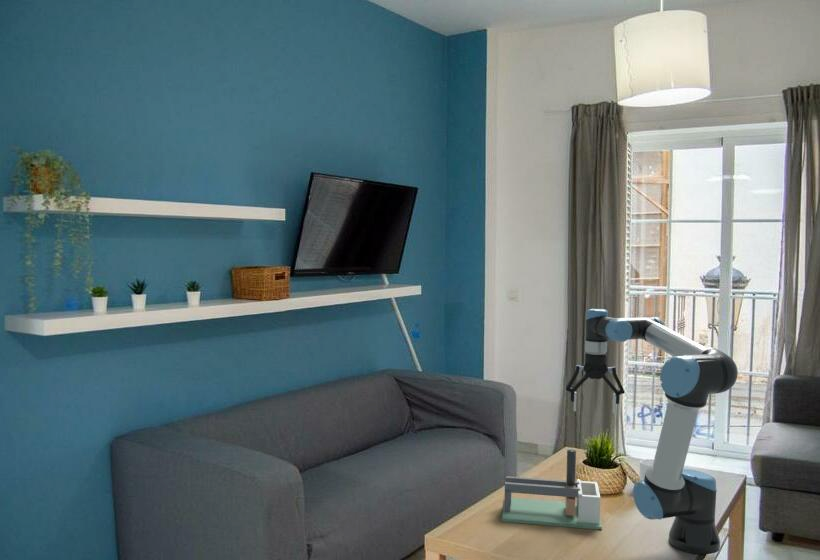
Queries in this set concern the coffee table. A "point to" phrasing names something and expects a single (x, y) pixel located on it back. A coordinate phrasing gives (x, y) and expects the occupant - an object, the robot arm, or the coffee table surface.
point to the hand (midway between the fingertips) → (594, 411)
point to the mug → (645, 467)
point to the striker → (570, 481)
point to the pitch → (552, 503)
